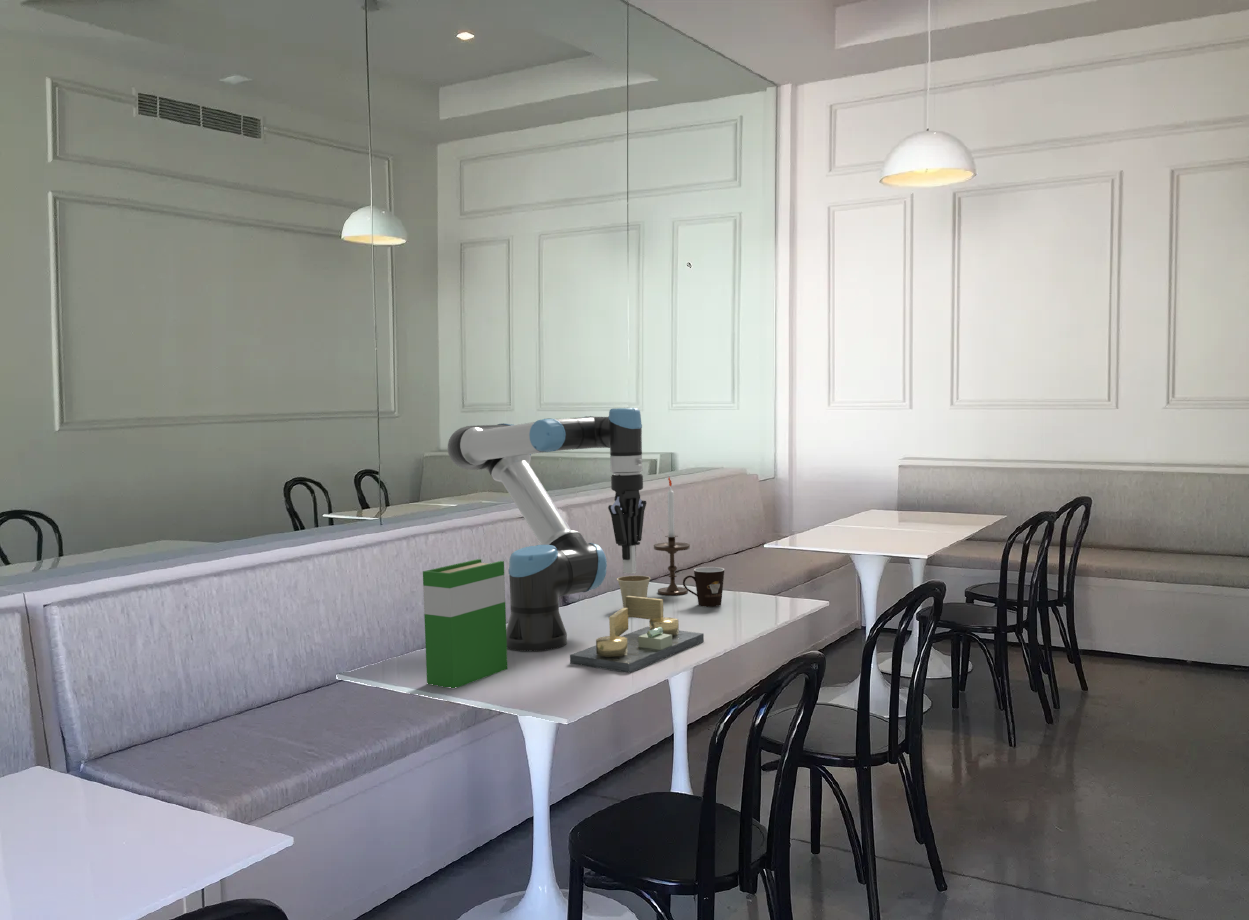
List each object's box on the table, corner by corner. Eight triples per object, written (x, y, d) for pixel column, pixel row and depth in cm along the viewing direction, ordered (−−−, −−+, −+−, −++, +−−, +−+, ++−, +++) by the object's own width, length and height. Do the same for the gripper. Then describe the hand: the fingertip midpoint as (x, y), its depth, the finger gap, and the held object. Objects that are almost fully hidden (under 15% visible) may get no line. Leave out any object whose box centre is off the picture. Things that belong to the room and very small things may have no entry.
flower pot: (612, 607, 296) (611, 577, 296) (642, 604, 300) (641, 574, 300) (626, 613, 288) (625, 582, 287) (657, 609, 292) (656, 579, 291)
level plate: (629, 672, 227) (628, 645, 227) (570, 663, 236) (569, 637, 236) (703, 641, 253) (703, 617, 253) (647, 634, 262) (647, 610, 262)
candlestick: (649, 591, 319) (646, 476, 317) (682, 588, 323) (679, 474, 321) (663, 597, 309) (660, 478, 307) (696, 594, 313) (694, 476, 311)
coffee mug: (725, 601, 301) (724, 566, 300) (725, 607, 292) (724, 572, 292) (684, 601, 302) (683, 567, 301) (683, 608, 293) (682, 572, 293)
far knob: (684, 631, 255) (683, 598, 254) (668, 637, 249) (668, 603, 248) (635, 625, 262) (635, 593, 262) (619, 631, 257) (619, 598, 256)
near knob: (622, 657, 231) (621, 621, 231) (592, 655, 233) (591, 620, 233) (640, 642, 244) (639, 608, 244) (612, 641, 247) (611, 607, 246)
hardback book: (481, 664, 237) (478, 559, 235) (507, 668, 233) (503, 561, 231) (427, 684, 222) (422, 571, 221) (453, 688, 218) (449, 573, 217)
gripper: (624, 475, 241) (627, 578, 242) (655, 471, 251) (657, 569, 253) (597, 475, 245) (600, 576, 246) (629, 471, 256) (631, 567, 257)
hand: (629, 572), depth 249 cm, fingers closed
